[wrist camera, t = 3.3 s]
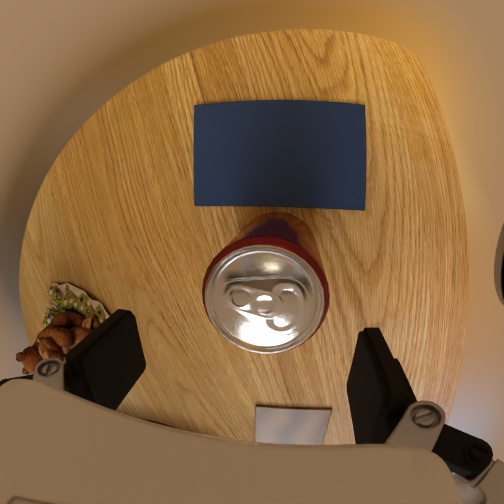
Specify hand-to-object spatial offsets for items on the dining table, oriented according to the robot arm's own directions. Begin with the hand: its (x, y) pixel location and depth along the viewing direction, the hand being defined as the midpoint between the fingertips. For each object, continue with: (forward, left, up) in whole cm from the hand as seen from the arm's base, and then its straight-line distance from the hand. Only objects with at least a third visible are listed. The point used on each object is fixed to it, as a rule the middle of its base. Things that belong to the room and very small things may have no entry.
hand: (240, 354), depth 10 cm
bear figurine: (+27, +13, -17) cm, 34 cm away
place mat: (0, -9, -17) cm, 19 cm away
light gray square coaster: (-3, +26, -17) cm, 31 cm away
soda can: (0, 0, -17) cm, 17 cm away
